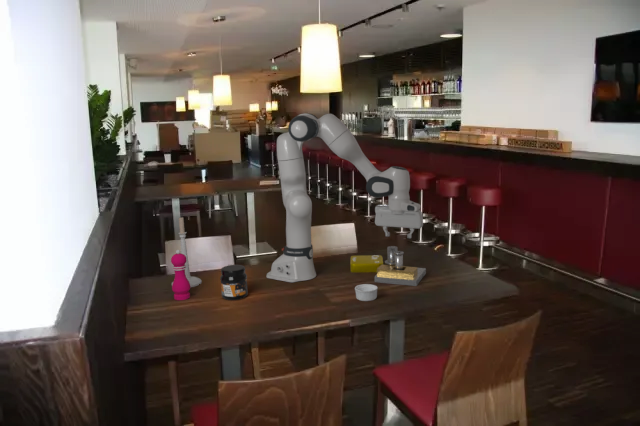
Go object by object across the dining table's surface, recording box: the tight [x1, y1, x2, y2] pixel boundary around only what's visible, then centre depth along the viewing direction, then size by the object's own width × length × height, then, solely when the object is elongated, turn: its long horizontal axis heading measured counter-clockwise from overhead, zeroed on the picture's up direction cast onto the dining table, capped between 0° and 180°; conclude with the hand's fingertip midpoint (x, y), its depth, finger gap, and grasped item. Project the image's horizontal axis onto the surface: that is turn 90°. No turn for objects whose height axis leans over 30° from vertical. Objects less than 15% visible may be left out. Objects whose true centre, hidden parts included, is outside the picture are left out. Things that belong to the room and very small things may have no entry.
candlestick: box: [171, 216, 202, 288], centre depth 228 cm, size 13×13×30 cm
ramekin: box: [354, 283, 378, 302], centre depth 204 cm, size 9×9×4 cm
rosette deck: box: [373, 245, 427, 287], centre depth 226 cm, size 18×18×12 cm
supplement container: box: [219, 264, 249, 301], centre depth 210 cm, size 10×10×12 cm
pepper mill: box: [170, 249, 191, 301], centre depth 210 cm, size 7×7×20 cm
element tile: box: [349, 254, 384, 273], centre depth 244 cm, size 15×15×5 cm
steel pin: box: [394, 250, 405, 270], centre depth 225 cm, size 4×4×12 cm
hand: (398, 237), depth 222 cm, fingers open, 8 cm apart
